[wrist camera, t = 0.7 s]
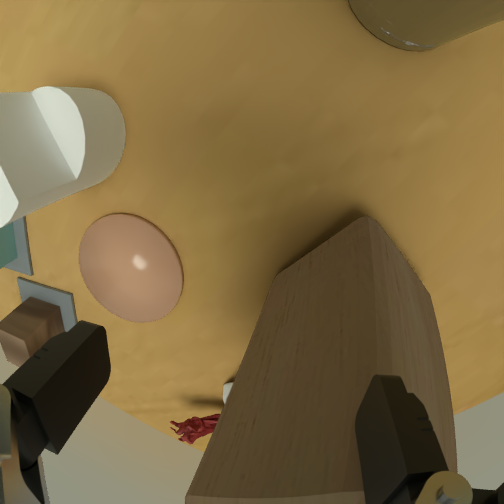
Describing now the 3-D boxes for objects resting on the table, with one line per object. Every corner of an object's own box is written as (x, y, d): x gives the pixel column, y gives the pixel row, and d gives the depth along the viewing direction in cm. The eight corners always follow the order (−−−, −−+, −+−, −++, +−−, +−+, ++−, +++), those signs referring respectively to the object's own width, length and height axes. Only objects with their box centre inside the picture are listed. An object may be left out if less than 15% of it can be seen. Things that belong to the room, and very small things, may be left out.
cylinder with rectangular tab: (144, 149, 24) (47, 175, 13) (77, 204, 27) (-15, 253, 16) (96, 68, 22) (-6, 56, 11) (36, 130, 25) (-60, 151, 14)
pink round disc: (78, 206, 27) (75, 208, 27) (186, 222, 26) (184, 224, 26) (87, 305, 31) (85, 308, 31) (182, 329, 31) (180, 333, 30)
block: (341, 344, 29) (302, 555, 13) (270, 274, 27) (169, 510, 11) (433, 295, 24) (460, 540, 8) (367, 205, 22) (368, 518, 6)
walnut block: (30, 296, 32) (-6, 326, 26) (59, 306, 32) (24, 340, 25) (38, 329, 34) (7, 360, 27) (67, 340, 34) (36, 375, 27)
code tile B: (-20, 193, 28) (-22, 194, 28) (24, 199, 28) (21, 200, 27) (-10, 260, 32) (-12, 261, 31) (33, 274, 31) (31, 276, 31)
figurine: (324, 371, 31) (328, 421, 25) (302, 434, 35) (301, 478, 29) (179, 351, 32) (158, 396, 26) (185, 417, 37) (170, 458, 30)
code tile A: (18, 276, 32) (16, 278, 31) (72, 293, 31) (70, 295, 31) (33, 334, 35) (31, 336, 35) (84, 354, 35) (82, 356, 34)
